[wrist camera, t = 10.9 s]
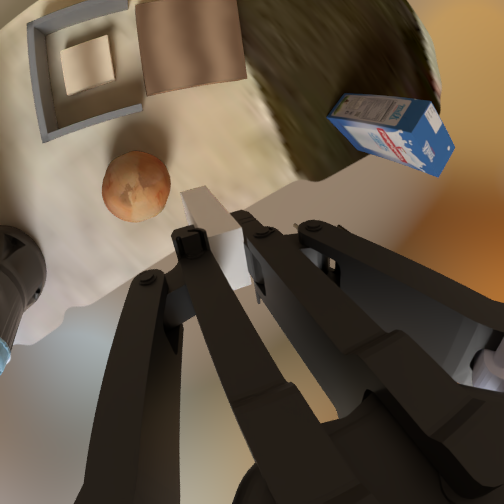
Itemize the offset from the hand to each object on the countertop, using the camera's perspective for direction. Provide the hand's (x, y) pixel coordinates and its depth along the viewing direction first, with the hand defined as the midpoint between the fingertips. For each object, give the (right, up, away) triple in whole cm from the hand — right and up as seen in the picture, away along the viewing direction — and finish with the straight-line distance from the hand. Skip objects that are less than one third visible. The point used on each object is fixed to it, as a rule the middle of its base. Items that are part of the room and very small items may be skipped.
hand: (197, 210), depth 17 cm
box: (-20, +24, +14) cm, 34 cm away
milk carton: (+22, +22, +33) cm, 45 cm away
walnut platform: (-6, +28, +18) cm, 34 cm away
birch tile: (-20, +24, +15) cm, 35 cm away
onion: (-14, +9, +25) cm, 30 cm away
